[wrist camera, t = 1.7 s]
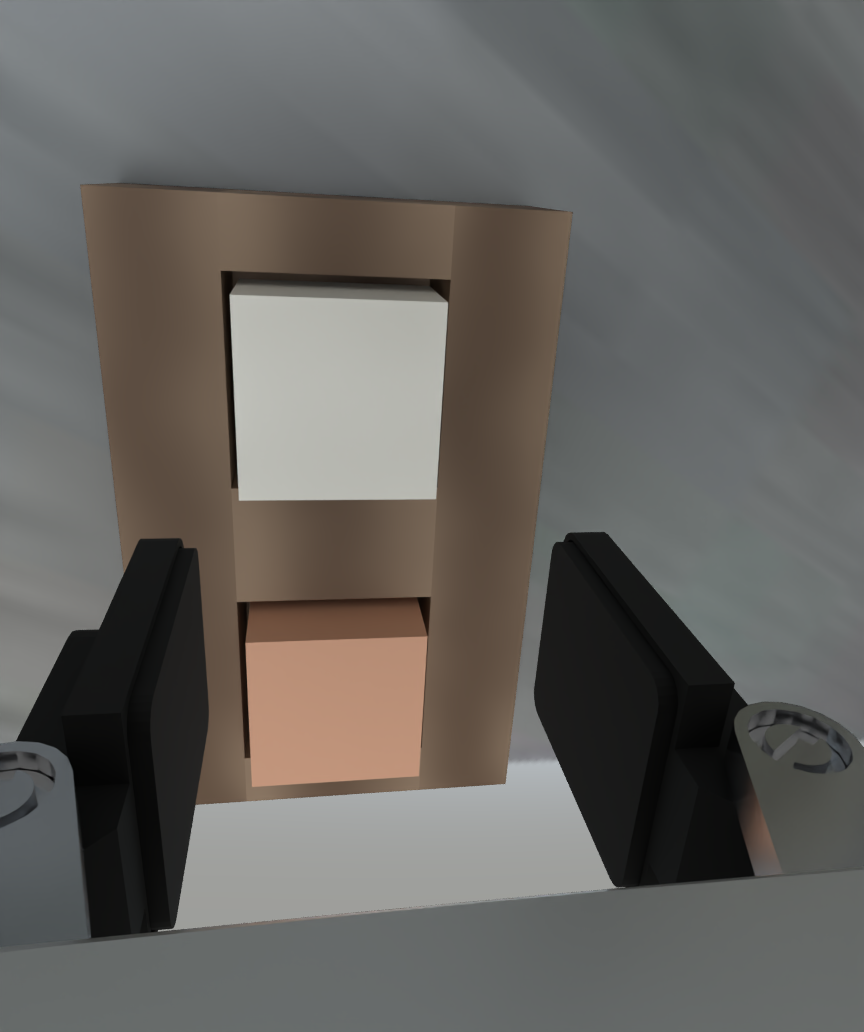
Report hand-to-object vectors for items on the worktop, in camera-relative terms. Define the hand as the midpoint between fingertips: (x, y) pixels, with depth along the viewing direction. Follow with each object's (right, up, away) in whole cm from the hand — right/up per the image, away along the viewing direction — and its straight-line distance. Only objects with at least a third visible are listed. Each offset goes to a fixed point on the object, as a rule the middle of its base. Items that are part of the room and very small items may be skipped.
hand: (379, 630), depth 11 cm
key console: (-3, +3, +20) cm, 20 cm away
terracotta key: (-3, -4, +19) cm, 19 cm away
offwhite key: (-2, +6, +14) cm, 16 cm away
